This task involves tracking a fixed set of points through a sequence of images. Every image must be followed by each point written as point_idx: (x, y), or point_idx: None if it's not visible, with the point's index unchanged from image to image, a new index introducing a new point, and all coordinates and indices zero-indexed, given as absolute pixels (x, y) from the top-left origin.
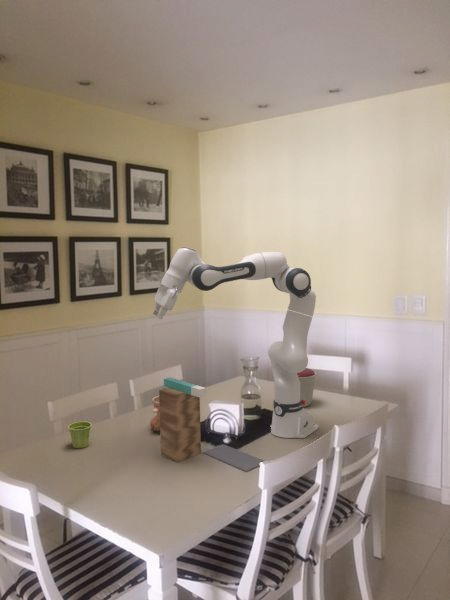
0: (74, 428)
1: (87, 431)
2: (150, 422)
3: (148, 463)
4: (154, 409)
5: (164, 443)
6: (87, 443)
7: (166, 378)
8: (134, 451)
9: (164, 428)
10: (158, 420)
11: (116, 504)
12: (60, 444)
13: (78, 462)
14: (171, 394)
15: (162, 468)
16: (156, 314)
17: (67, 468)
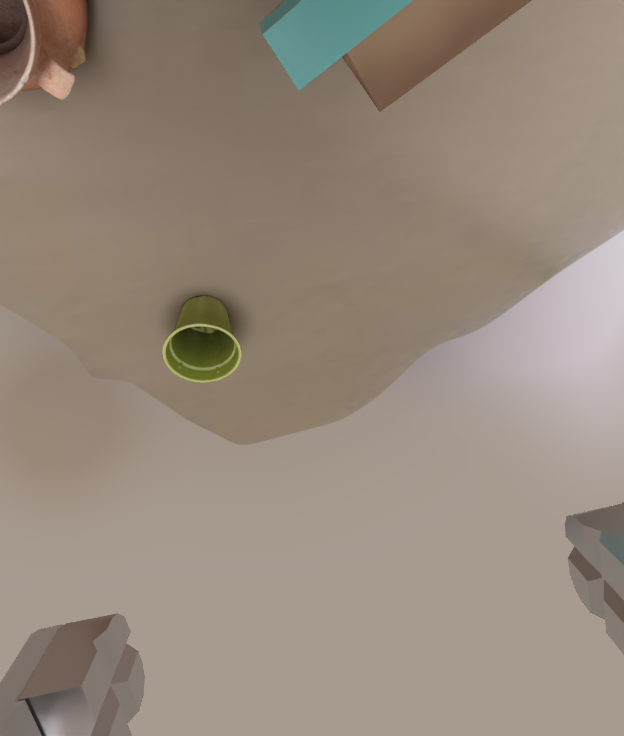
0: (184, 361)
1: (219, 323)
2: (29, 90)
3: None
4: (63, 88)
5: None
6: (211, 300)
7: (295, 66)
8: (271, 141)
9: None
10: (49, 49)
11: (615, 167)
12: None
13: (327, 297)
14: (504, 18)
15: None
16: (120, 643)
17: (359, 314)
